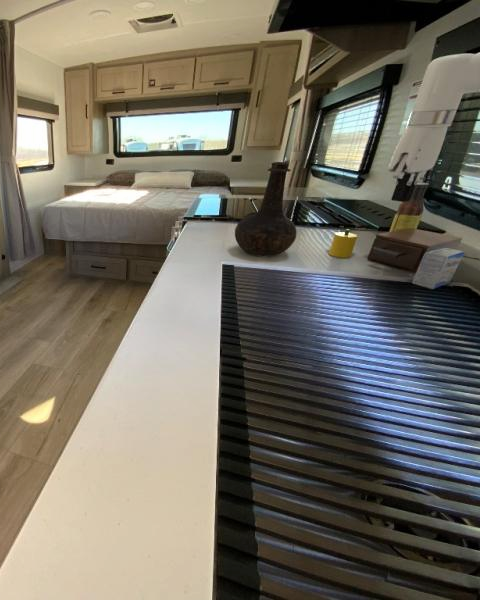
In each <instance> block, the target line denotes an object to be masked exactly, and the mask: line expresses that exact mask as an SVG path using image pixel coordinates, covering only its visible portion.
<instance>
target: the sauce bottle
mask: <svg viewBox="0 0 480 600" xmlns="http://www.w3.org/2000/svg"><path fill="white" fill-rule="evenodd" d="M428 188H429V183H426V182H418V183H417V184H416V185H415V188H414V191H413V193H412V196H411V198H410V200H409V201H406V202H400V203H399V205H398V208H397V210H396V212H395V215H394V218H393V219H392V224H391V225H390V228H389V231H388V232H391V231H396V230H401V229H406V228H413V229H418V227H419V224H420V221H421V219H422V216H423V213H424V196H425V193H426V190H427V189H428Z"/></svg>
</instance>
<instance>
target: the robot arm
mask: <svg viewBox="0 0 480 600" xmlns="http://www.w3.org/2000/svg"><path fill="white" fill-rule="evenodd" d="M473 93H480V51H479V52H477V53H457V54H449V55H445V56H444V55H443V56H439V57H437V58H435V59H433V60H431V62H429V63H428V65H427V67H426V69H425V71H424V75H423V78H422V82H421V84H420V87H419V90H418V93H417V96H416V98H415V101H414V104H413V107H412V110H411V113H410V115H409V118H408V121H407V124H406V128H405V129H404V131H403V132H402V134H401V135H400V138H399V140H398V143H397V145H396V147H395V149H394V151H393V154H392V157H391V159H390V161H389V164H388V167H387V170H388V172H390V173H394V174H393V177H392V178H393V179H396V181H395V188H394V189H393V193H392V196H391V199H390V200H391V201H393V202H400V203H402V202H406V201H409V200H410V198H411V196H412V193H413V191H414V188H415V185H416V184H417V183H419V181H420V179H421V177H422V176H425V175H426V174H427V171H429V170H431V169H433V168H434V167H435V165H436V162H437V161H438V158H439V156H440V153H441V150H442V147H443V144H444V142H445V137H446V134H447V130H448V127H451V126H452V123H453V121H454V119H455V116H456V114H457V110H458V108H459V106H460V103H461V100H462V99H463V96H464V94H466V95H467V94H473Z"/></svg>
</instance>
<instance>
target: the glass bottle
mask: <svg viewBox="0 0 480 600" xmlns="http://www.w3.org/2000/svg"><path fill="white" fill-rule="evenodd" d="M270 164H271V167H269V168H268V169H267V171H269V176H268V180H267V185H266V188H265V191H264V195H263V198H262V201H261V203H260V206H259V208H258V210H257V212H256V211H253V212H250V213H248V214H246V215H245V216H244V217H243V218H242V219H241V220H240V221H239V222H238V223H237V224H236V226H235V228H234V237H235V241H236V243H237V245H238V247H240V249H241V250H242V251H244V252H245V253H246V254H248V255H252V256H256V257H273V256H277V255H280V254H283V253H284V252H286V251H287V250H288V249H290V248H291V246H292V245H293V244H294V243H295V241H296V239H297V234H298V232H297V227H296V225H295V223H294V222H293V221H292V220H291V219H290V218H288V217H287V216H285V213H284V195H285V186H286V181H287V180H286V179H287V173H289V172H291V171H292V170H291V169H290V168H289V165H290V164H289V163H288V162H283V161H274V162H271V163H270Z"/></svg>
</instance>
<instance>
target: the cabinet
mask: <svg viewBox="0 0 480 600" xmlns="http://www.w3.org/2000/svg"><path fill="white" fill-rule="evenodd" d="M375 238H380V239H387V240H391V241H395V242H400V243H404V244H409V245H413V246H417V247H422V248H424V251H423V253H422V255H421V257H420V260H419V262H418V264H417V266H416V268H415V269H410V268H406V267H403V266H399V265H395V264H392V263H388V262H385V261H381V260H377V259H374V258H370V257H368V256H367V259H368V260H372V261H375V262H378V263H382V264H386V265H389V266H392V267H396V268H400V269H404V270H407V271H411V272H414V273H416V272H417V270H418V268H419V266H420V263H421V261H422V259H423V256H424V254H425V253H426V252H430V251H433V250H437V249H440V248H449V249H455V250H458V248H459V246H460V244H461V242H462V240H463V237H460V236H455V235H449V234H444V233H440V232H439V233H438V232H434V231H429V230H422V229H418V228H417V229H413V228H406V229H401V230H396V231H391V232H389V231H387V232H382V233H376V234H375V237H374V239H375Z"/></svg>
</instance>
